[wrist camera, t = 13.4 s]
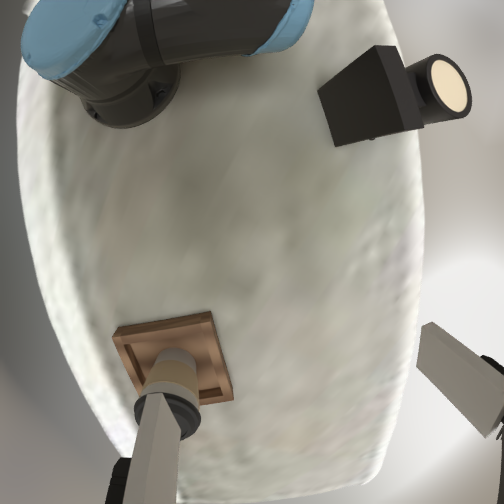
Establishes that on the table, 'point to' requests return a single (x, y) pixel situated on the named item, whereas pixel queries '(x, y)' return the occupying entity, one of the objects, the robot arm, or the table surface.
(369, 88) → the light fixture
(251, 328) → the table surface
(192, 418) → the coffee cup
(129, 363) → the tray
